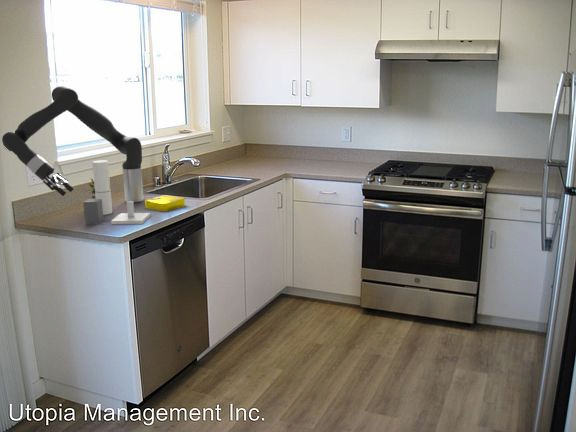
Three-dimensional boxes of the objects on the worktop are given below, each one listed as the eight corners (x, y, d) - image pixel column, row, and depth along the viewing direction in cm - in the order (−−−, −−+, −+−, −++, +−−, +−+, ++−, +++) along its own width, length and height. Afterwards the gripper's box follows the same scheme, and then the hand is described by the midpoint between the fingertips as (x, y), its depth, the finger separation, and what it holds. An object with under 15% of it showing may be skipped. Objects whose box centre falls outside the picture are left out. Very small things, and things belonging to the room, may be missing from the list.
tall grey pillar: (90, 220, 274) (88, 198, 272) (103, 220, 274) (101, 198, 272) (85, 223, 268) (83, 202, 266) (99, 223, 268) (96, 201, 266)
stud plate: (120, 216, 280) (119, 198, 278) (150, 216, 280) (149, 198, 278) (111, 224, 267) (109, 205, 265) (142, 223, 266) (140, 205, 264)
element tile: (165, 212, 288) (164, 202, 287) (143, 208, 296) (143, 199, 295) (186, 206, 300) (186, 196, 299) (165, 202, 308) (164, 193, 307)
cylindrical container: (114, 210, 291) (109, 160, 285) (110, 214, 284) (105, 162, 278) (99, 211, 291) (94, 160, 285) (95, 214, 284) (90, 162, 278)
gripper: (38, 164, 258) (67, 190, 260) (52, 159, 272) (79, 183, 274) (28, 176, 260) (57, 201, 262) (42, 170, 273) (69, 194, 276)
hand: (68, 192), depth 268 cm, fingers open, 8 cm apart
